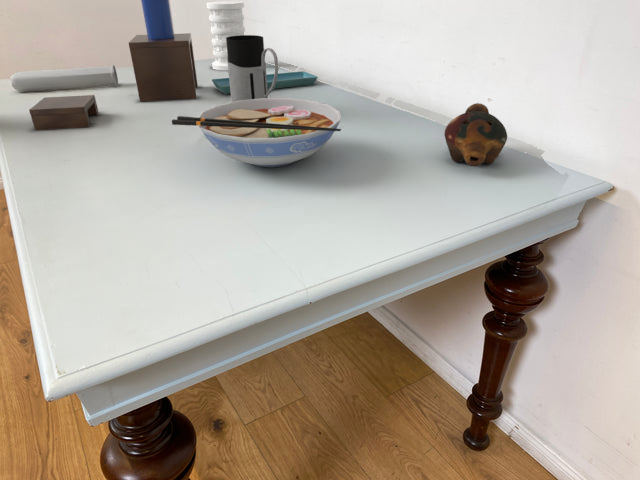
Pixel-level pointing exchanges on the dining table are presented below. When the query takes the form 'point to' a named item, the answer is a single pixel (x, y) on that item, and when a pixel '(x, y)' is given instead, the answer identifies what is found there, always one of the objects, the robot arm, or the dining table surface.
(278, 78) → the teal serving tray
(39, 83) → the tube
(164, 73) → the brown block
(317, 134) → the ramen bowl
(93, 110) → the low shelf
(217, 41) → the decorative container
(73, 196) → the dining table surface
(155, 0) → the can
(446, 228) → the dining table surface
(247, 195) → the dining table surface
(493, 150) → the decorative turtle
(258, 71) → the glass holder
